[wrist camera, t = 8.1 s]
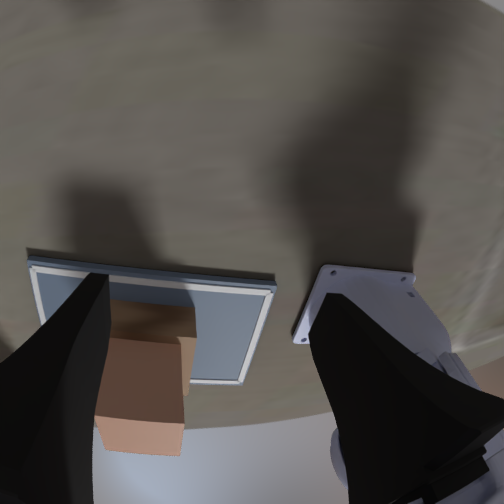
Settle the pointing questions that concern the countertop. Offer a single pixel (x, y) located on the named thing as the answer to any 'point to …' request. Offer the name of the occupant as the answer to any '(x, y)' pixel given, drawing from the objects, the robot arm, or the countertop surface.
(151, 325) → the walnut base block
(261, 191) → the countertop surface
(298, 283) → the countertop surface
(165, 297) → the board
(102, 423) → the terracotta block
